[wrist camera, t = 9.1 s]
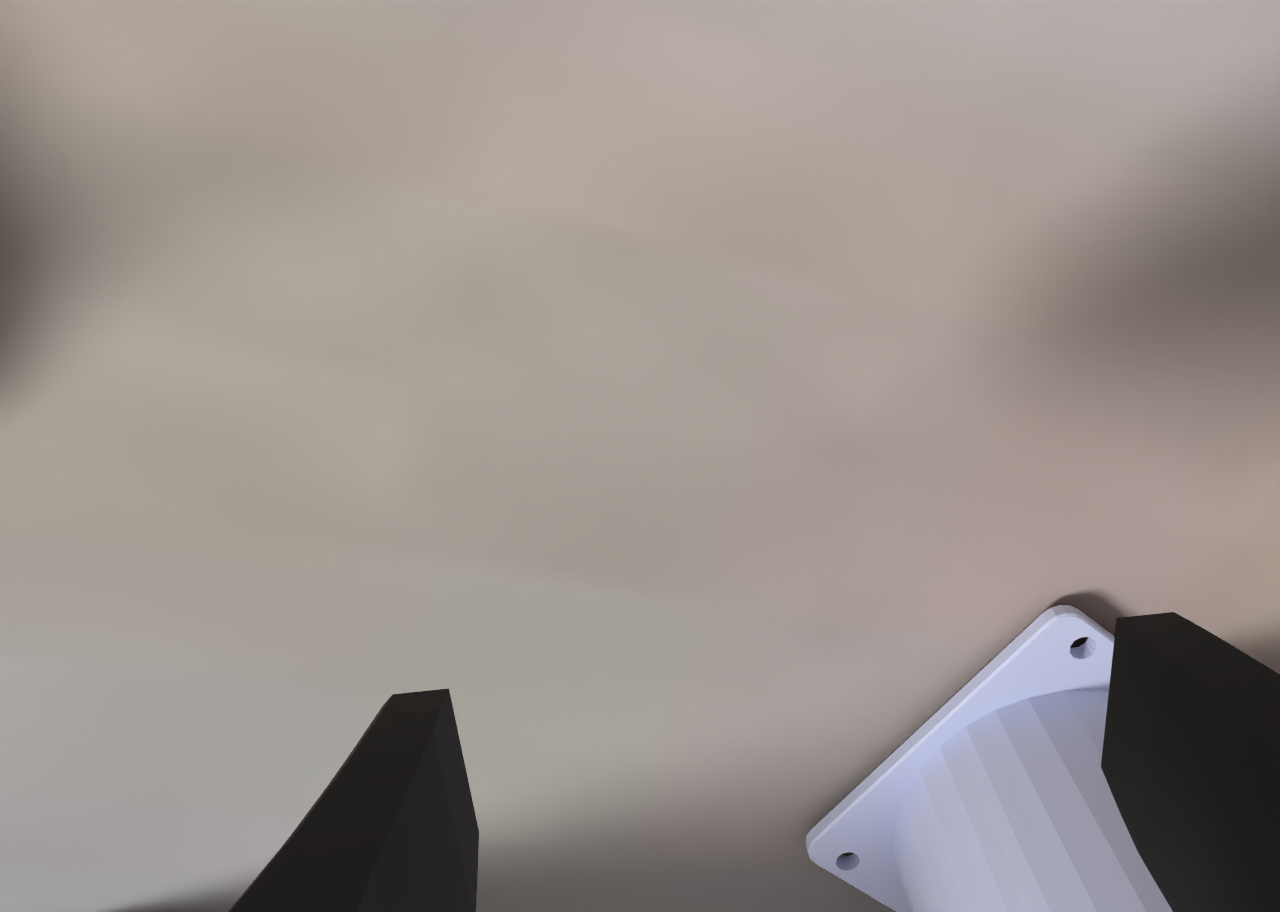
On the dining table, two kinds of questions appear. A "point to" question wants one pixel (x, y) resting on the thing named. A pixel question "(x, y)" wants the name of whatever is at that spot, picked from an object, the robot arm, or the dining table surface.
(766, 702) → the dining table surface
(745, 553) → the dining table surface
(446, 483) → the dining table surface
